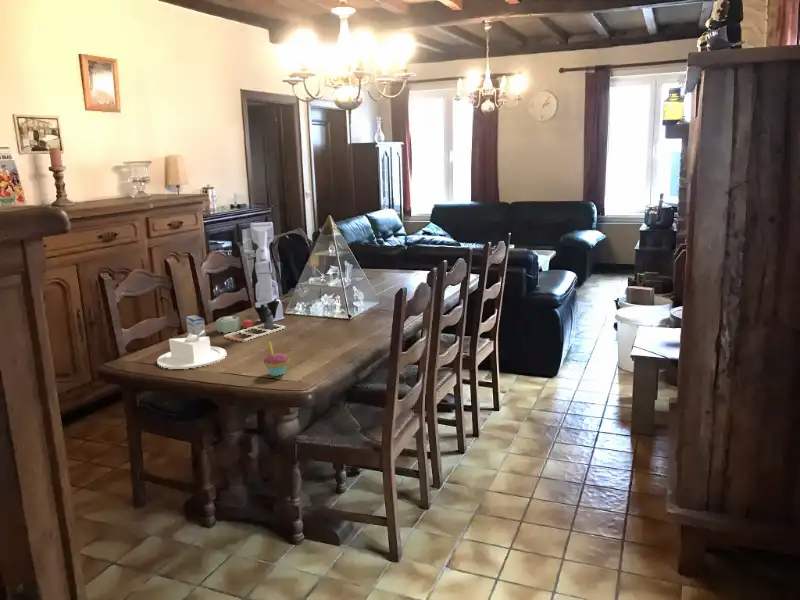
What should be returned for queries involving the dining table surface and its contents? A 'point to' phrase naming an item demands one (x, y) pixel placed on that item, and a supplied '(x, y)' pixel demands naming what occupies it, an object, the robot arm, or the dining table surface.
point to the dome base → (228, 325)
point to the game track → (252, 333)
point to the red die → (248, 323)
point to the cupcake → (276, 362)
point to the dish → (191, 353)
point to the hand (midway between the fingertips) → (268, 320)
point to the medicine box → (195, 325)
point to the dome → (228, 318)
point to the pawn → (269, 321)
